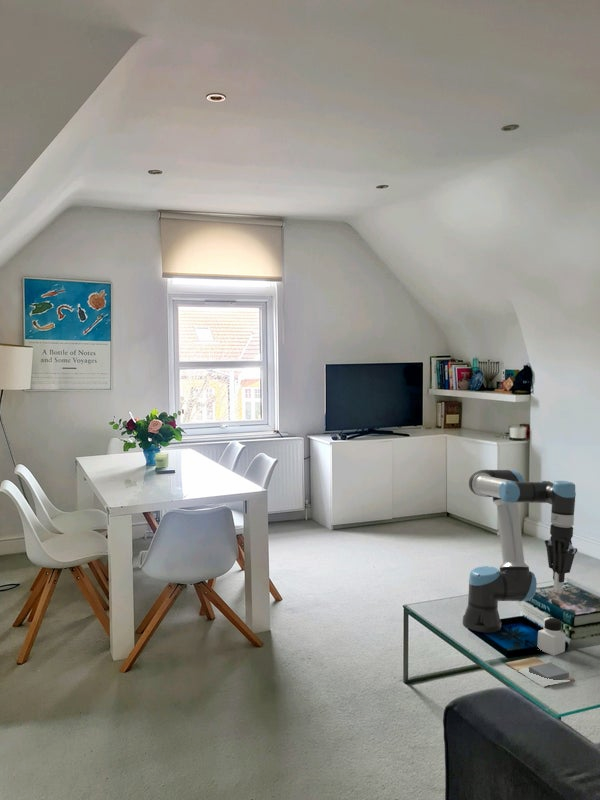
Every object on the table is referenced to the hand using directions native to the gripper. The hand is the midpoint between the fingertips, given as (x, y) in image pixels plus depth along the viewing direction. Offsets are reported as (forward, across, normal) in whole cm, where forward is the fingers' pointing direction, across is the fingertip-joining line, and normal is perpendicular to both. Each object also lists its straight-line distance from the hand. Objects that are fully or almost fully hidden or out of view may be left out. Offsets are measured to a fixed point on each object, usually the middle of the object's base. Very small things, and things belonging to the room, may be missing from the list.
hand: (557, 590), depth 231 cm
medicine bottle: (+27, -8, +7) cm, 29 cm away
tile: (+25, +4, -11) cm, 27 cm away
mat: (+26, +4, -11) cm, 29 cm away
